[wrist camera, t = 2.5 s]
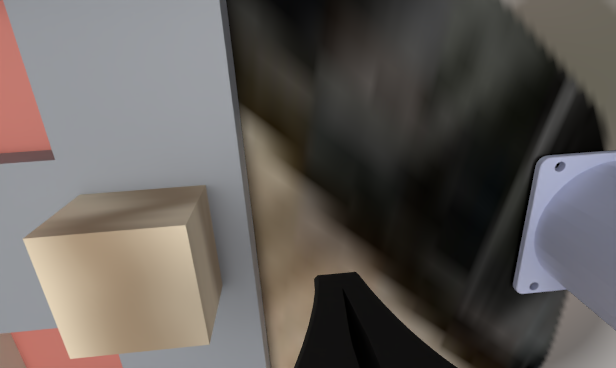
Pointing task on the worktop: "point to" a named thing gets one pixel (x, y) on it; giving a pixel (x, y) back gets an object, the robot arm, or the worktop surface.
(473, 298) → the worktop surface
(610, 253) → the robot arm
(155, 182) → the trap tray
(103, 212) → the maple block
